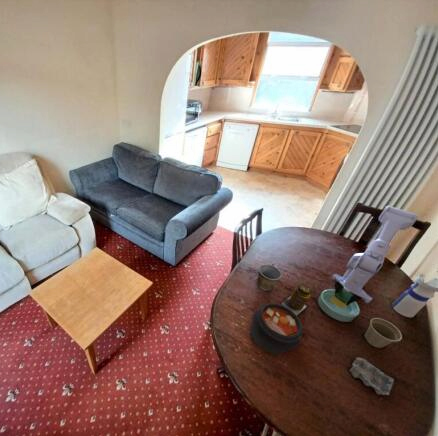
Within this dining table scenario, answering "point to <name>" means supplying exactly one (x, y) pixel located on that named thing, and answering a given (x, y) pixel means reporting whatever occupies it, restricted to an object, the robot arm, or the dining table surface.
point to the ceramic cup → (268, 276)
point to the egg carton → (372, 376)
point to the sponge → (341, 298)
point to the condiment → (298, 299)
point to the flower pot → (382, 333)
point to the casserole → (276, 328)
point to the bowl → (333, 310)
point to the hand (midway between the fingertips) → (341, 299)
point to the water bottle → (415, 296)
